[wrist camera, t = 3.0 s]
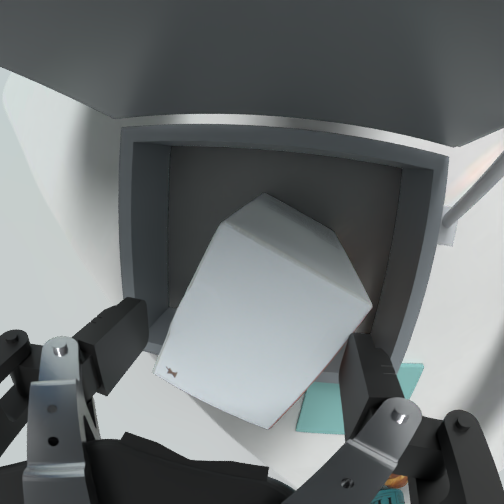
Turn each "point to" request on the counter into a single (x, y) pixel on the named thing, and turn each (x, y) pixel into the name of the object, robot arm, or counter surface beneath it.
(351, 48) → the lid
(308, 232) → the small box
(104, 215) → the counter surface
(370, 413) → the robot arm
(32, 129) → the counter surface
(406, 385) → the mat
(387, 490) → the beverage bottle
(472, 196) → the case
